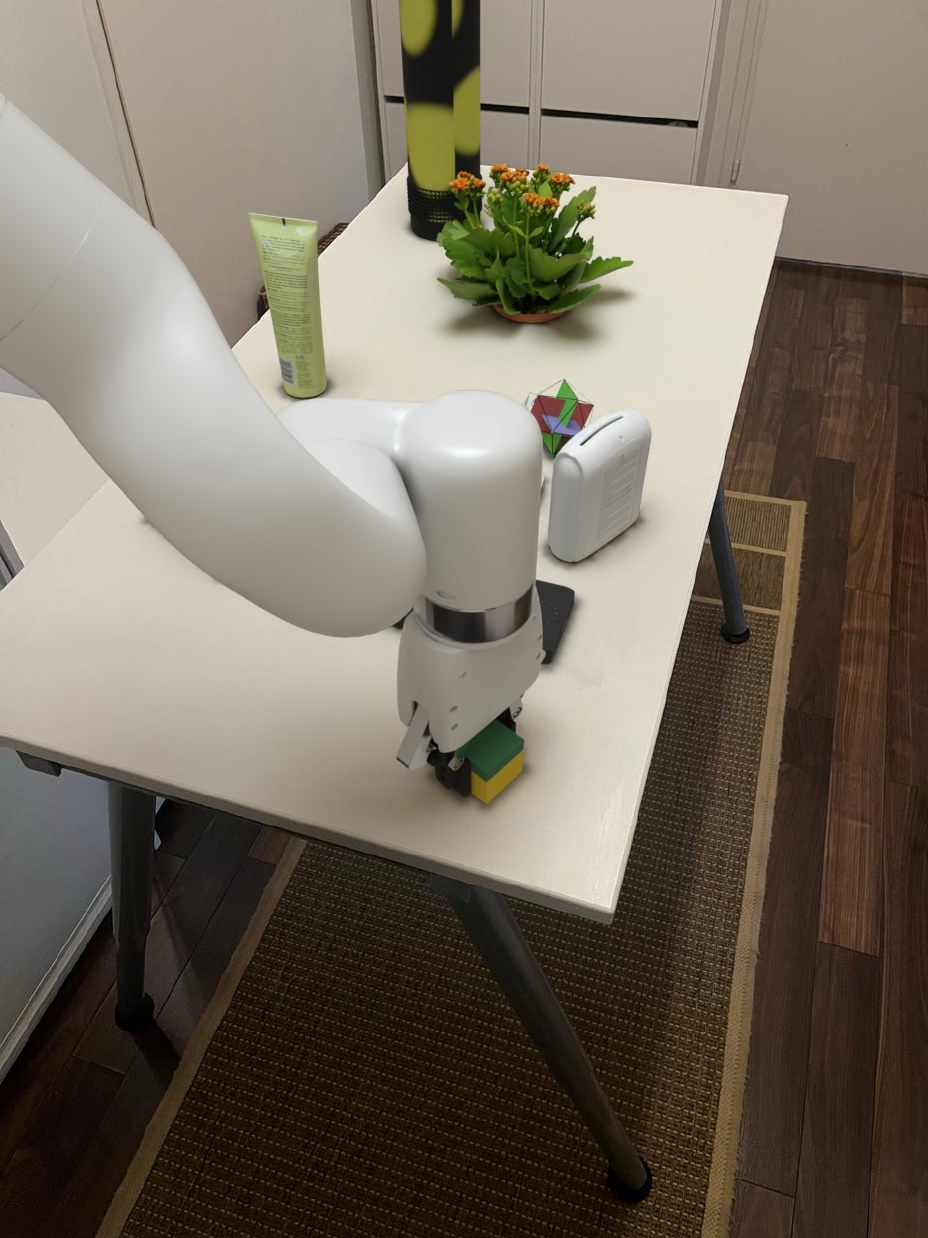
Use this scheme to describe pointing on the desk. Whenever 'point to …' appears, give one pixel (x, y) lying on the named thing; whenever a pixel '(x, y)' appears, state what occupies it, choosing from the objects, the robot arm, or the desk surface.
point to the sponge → (494, 760)
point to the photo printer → (598, 484)
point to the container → (440, 107)
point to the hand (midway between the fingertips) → (475, 762)
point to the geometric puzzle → (558, 415)
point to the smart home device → (546, 614)
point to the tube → (293, 298)
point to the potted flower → (523, 245)
